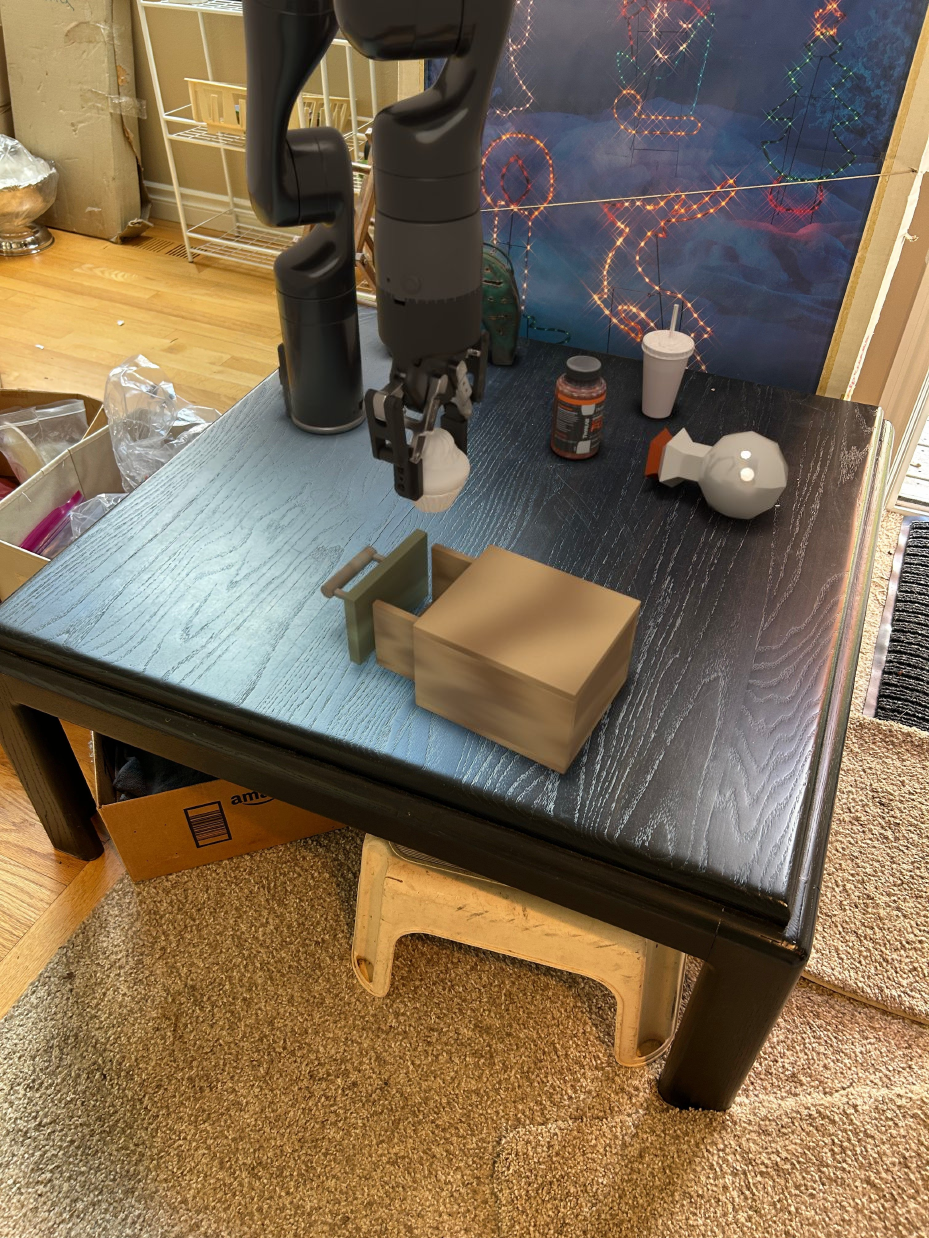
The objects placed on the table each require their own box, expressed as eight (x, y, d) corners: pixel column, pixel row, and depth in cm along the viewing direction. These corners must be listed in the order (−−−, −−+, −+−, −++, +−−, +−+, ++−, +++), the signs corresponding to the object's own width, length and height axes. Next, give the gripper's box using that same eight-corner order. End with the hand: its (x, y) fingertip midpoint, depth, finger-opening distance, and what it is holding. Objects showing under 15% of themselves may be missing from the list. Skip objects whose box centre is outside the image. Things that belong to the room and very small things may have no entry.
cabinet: (415, 704, 79) (412, 624, 73) (487, 621, 87) (490, 543, 81) (563, 774, 74) (574, 695, 67) (626, 680, 82) (641, 600, 75)
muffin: (384, 514, 75) (379, 440, 70) (413, 476, 79) (411, 404, 74) (453, 531, 73) (454, 456, 68) (480, 491, 77) (482, 418, 72)
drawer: (310, 642, 84) (301, 578, 78) (381, 575, 91) (377, 512, 86) (477, 720, 77) (479, 655, 72) (539, 641, 84) (545, 577, 79)
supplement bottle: (596, 464, 108) (607, 378, 100) (546, 458, 109) (554, 372, 101) (600, 438, 112) (611, 354, 105) (553, 433, 113) (560, 348, 105)
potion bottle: (773, 543, 99) (649, 509, 107) (806, 465, 101) (681, 437, 108) (763, 508, 91) (630, 474, 99) (799, 424, 93) (665, 397, 100)
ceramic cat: (376, 359, 127) (367, 211, 114) (386, 339, 132) (379, 195, 118) (515, 371, 125) (524, 222, 111) (521, 351, 130) (530, 205, 116)
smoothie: (688, 407, 118) (709, 303, 109) (669, 428, 114) (689, 323, 105) (643, 394, 121) (660, 291, 111) (623, 414, 117) (639, 309, 107)
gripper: (438, 232, 69) (439, 426, 80) (322, 297, 60) (342, 506, 71) (525, 251, 66) (514, 449, 77) (417, 323, 57) (423, 536, 68)
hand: (432, 475), depth 74 cm, fingers closed on muffin, 6 cm apart
